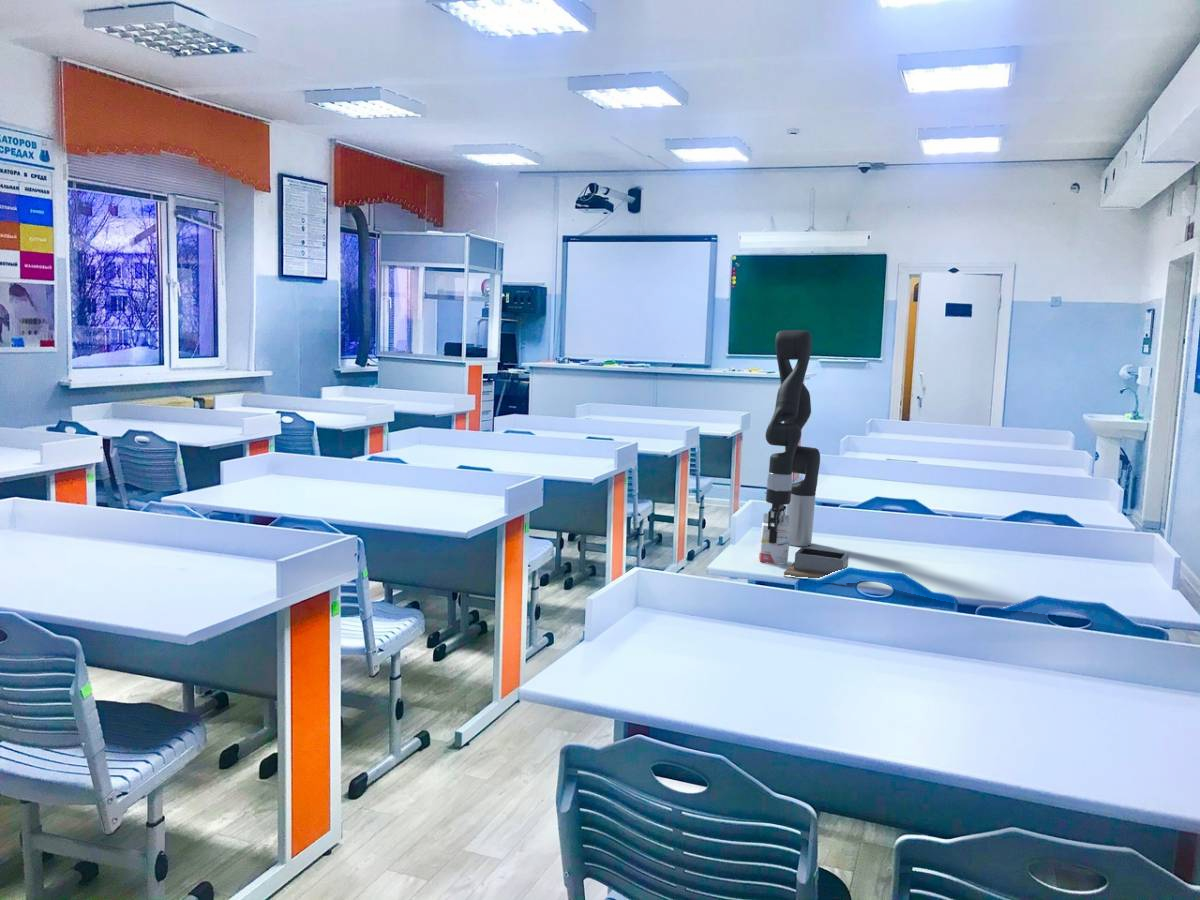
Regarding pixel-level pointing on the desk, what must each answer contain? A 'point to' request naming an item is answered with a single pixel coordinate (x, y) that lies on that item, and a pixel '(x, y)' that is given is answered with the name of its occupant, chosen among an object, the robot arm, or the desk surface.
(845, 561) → the sleeve
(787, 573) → the base board
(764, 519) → the ink cartridge box
